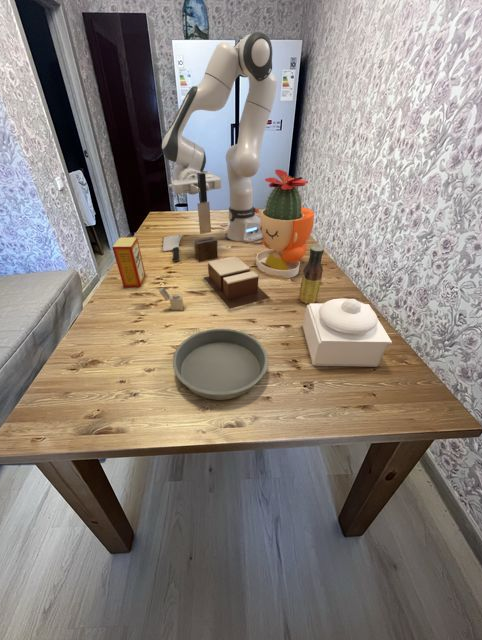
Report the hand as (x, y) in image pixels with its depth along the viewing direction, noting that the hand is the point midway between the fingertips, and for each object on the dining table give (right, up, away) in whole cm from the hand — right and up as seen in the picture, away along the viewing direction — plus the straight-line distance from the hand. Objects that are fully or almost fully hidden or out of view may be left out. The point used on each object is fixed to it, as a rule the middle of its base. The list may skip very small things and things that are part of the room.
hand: (203, 189), depth 110 cm
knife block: (0, -20, +19) cm, 28 cm away
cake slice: (+14, -42, -6) cm, 45 cm away
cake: (+10, -36, +1) cm, 38 cm away
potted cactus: (+33, -26, +13) cm, 44 cm away
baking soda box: (-28, -35, +3) cm, 45 cm away
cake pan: (+8, -68, -34) cm, 76 cm away
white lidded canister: (+42, -61, -27) cm, 79 cm away
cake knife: (0, -12, +12) cm, 17 cm away
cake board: (+12, -40, -2) cm, 41 cm away
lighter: (-9, -48, -12) cm, 51 cm away
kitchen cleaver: (-18, -13, +28) cm, 35 cm away
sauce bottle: (+38, -46, -9) cm, 60 cm away
